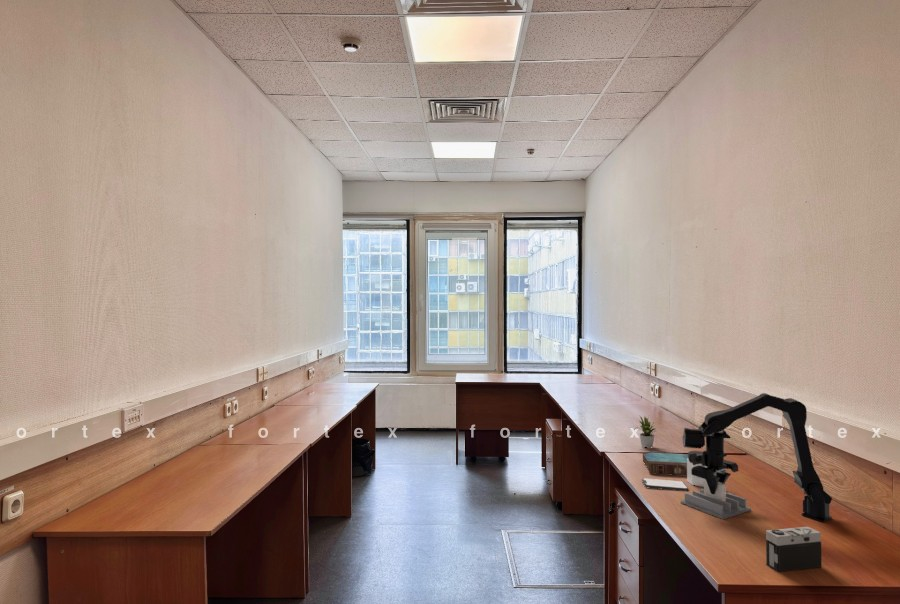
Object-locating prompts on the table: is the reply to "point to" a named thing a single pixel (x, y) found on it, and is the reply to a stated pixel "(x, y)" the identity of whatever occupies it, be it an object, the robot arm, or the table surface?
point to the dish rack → (717, 504)
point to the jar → (691, 478)
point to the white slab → (719, 492)
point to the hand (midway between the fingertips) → (715, 493)
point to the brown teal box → (666, 463)
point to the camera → (793, 549)
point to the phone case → (664, 484)
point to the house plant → (646, 433)
